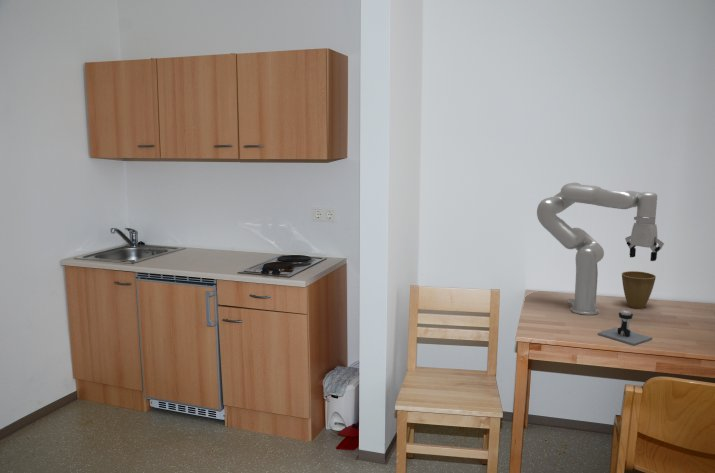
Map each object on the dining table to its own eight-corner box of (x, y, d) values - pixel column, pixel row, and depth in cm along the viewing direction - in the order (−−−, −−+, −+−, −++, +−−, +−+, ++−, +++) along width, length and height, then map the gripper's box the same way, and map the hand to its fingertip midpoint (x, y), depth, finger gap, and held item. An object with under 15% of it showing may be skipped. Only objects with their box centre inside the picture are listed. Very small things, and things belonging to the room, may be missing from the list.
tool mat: (597, 334, 242) (597, 332, 242) (616, 329, 249) (616, 327, 249) (633, 345, 229) (633, 343, 229) (652, 339, 236) (652, 337, 236)
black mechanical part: (611, 333, 241) (613, 310, 240) (619, 331, 244) (621, 308, 242) (625, 338, 236) (627, 314, 234) (634, 335, 238) (635, 312, 237)
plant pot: (614, 302, 291) (616, 271, 288) (643, 302, 291) (646, 271, 288) (627, 310, 276) (630, 278, 274) (659, 310, 276) (661, 278, 274)
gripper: (622, 219, 259) (619, 256, 262) (660, 223, 245) (656, 263, 248) (632, 217, 263) (629, 254, 266) (669, 222, 249) (666, 261, 252)
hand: (642, 258), depth 257 cm, fingers open, 9 cm apart
